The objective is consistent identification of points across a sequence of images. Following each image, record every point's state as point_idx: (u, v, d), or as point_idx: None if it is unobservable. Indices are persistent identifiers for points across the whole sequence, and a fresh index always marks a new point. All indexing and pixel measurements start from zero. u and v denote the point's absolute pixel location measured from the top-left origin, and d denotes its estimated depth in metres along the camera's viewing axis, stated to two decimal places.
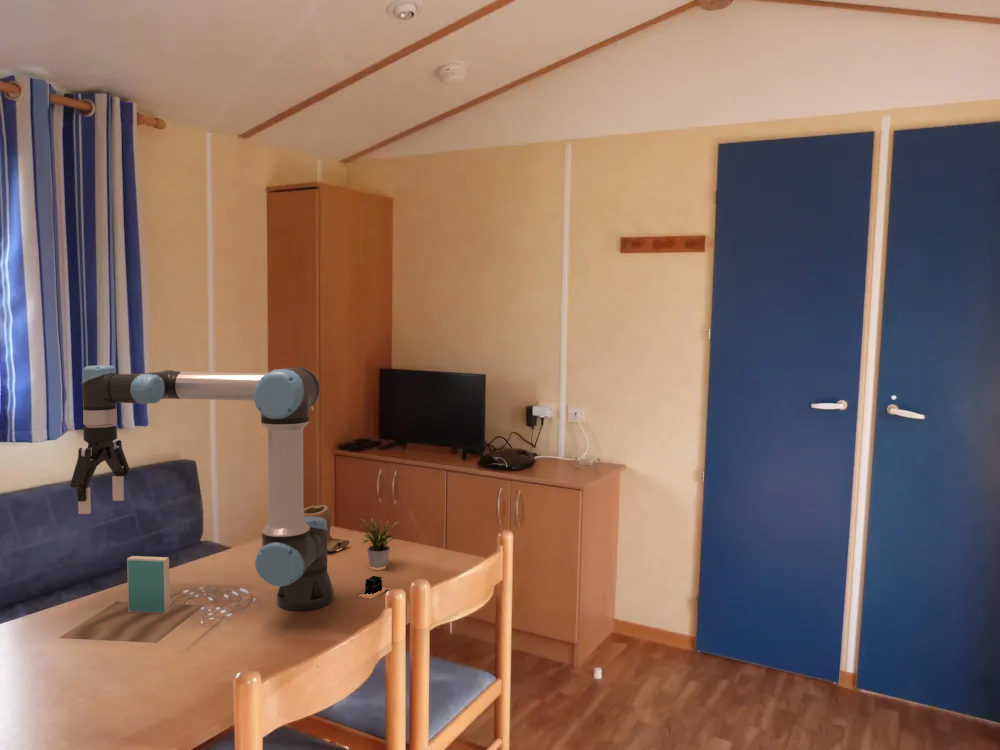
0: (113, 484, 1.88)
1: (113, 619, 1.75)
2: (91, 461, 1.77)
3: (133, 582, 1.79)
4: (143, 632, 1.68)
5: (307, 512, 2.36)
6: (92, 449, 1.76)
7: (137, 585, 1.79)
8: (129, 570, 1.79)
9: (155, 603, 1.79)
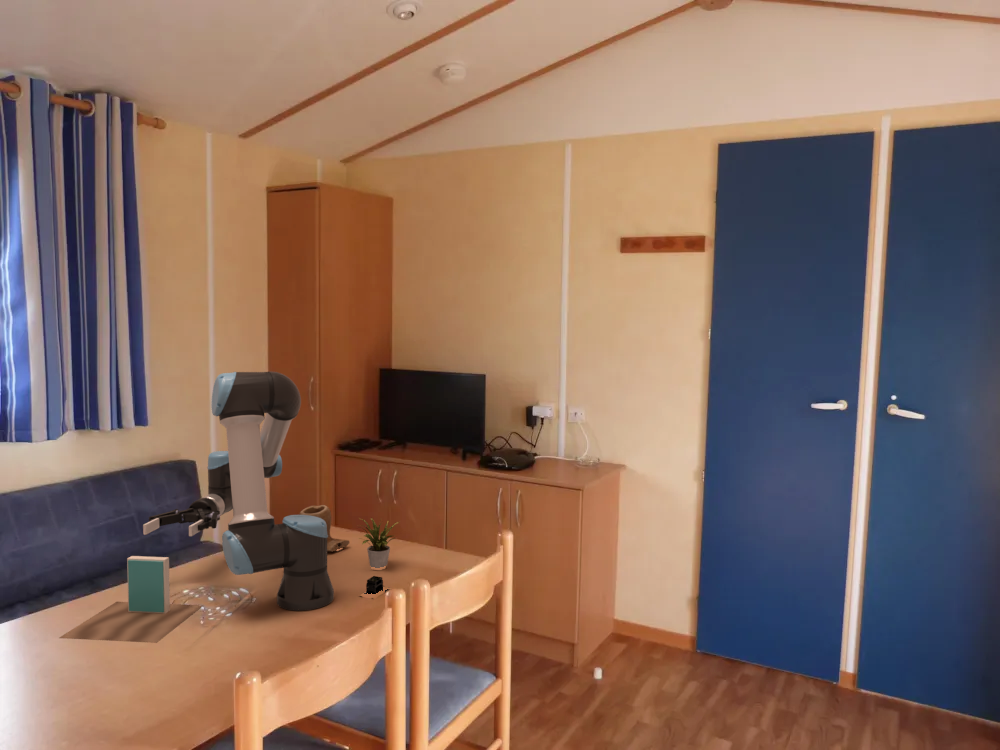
0: None
1: (113, 619, 1.75)
2: None
3: (133, 582, 1.79)
4: (143, 632, 1.68)
5: (307, 512, 2.36)
6: None
7: (137, 585, 1.79)
8: (129, 570, 1.79)
9: (155, 603, 1.79)
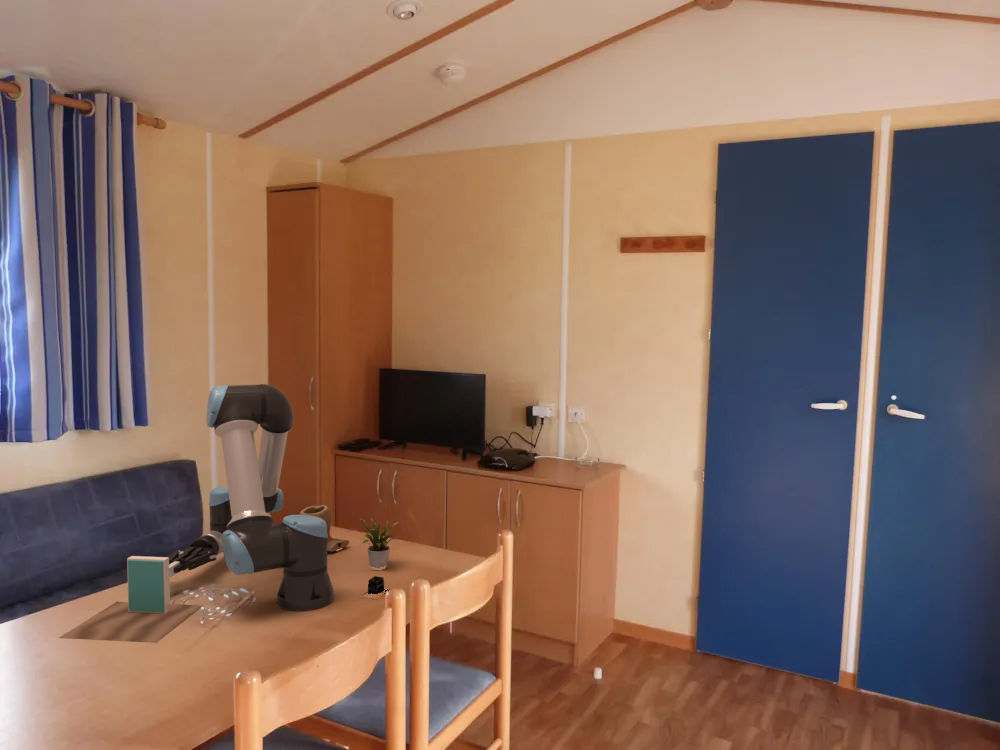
0: None
1: (113, 619, 1.75)
2: None
3: (133, 582, 1.79)
4: (143, 632, 1.68)
5: (307, 512, 2.36)
6: (183, 551, 2.05)
7: (137, 585, 1.79)
8: (129, 570, 1.79)
9: (155, 603, 1.79)
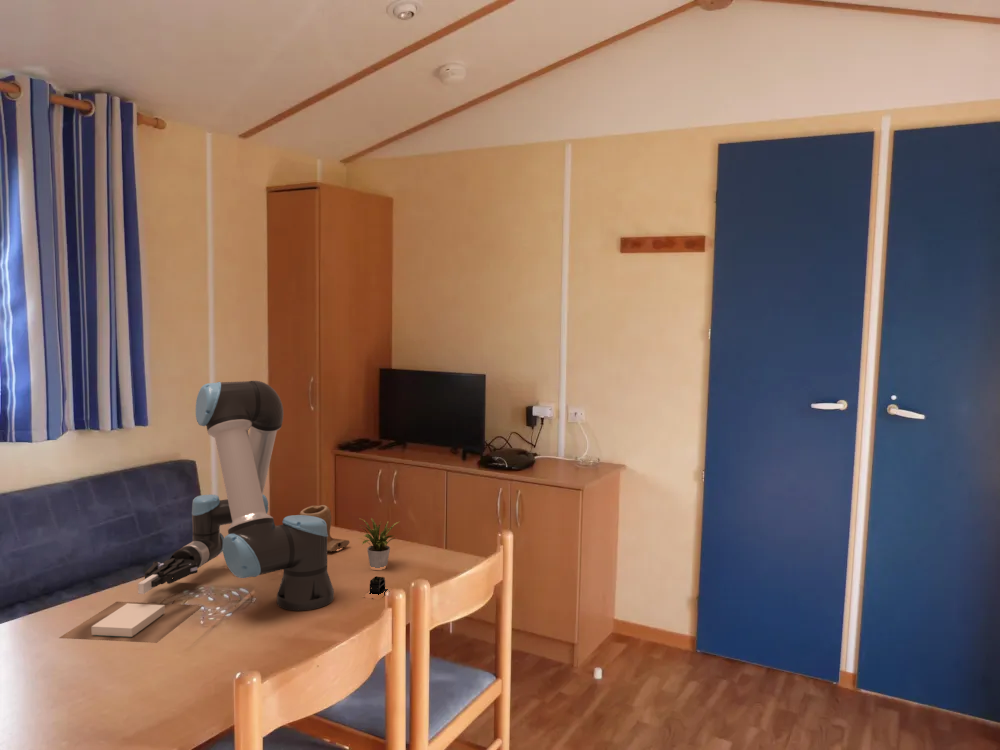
0: None
1: None
2: None
3: None
4: (143, 632, 1.68)
5: (307, 512, 2.36)
6: None
7: None
8: None
9: None
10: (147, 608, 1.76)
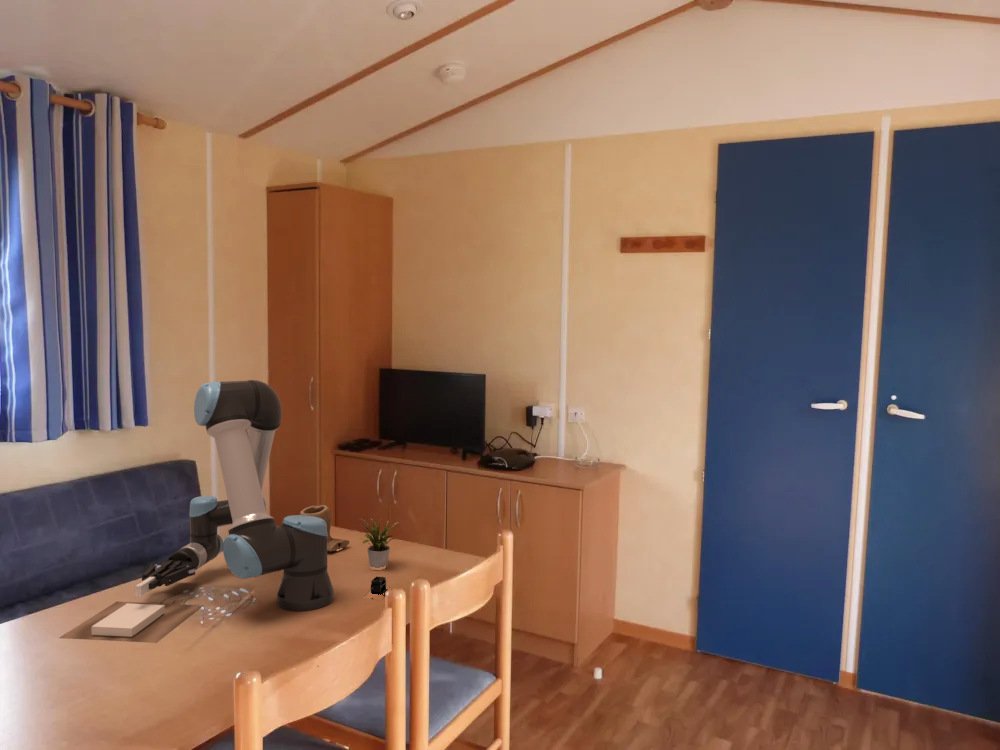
0: None
1: None
2: None
3: None
4: (143, 632, 1.68)
5: (307, 512, 2.36)
6: None
7: None
8: None
9: None
10: (147, 608, 1.76)
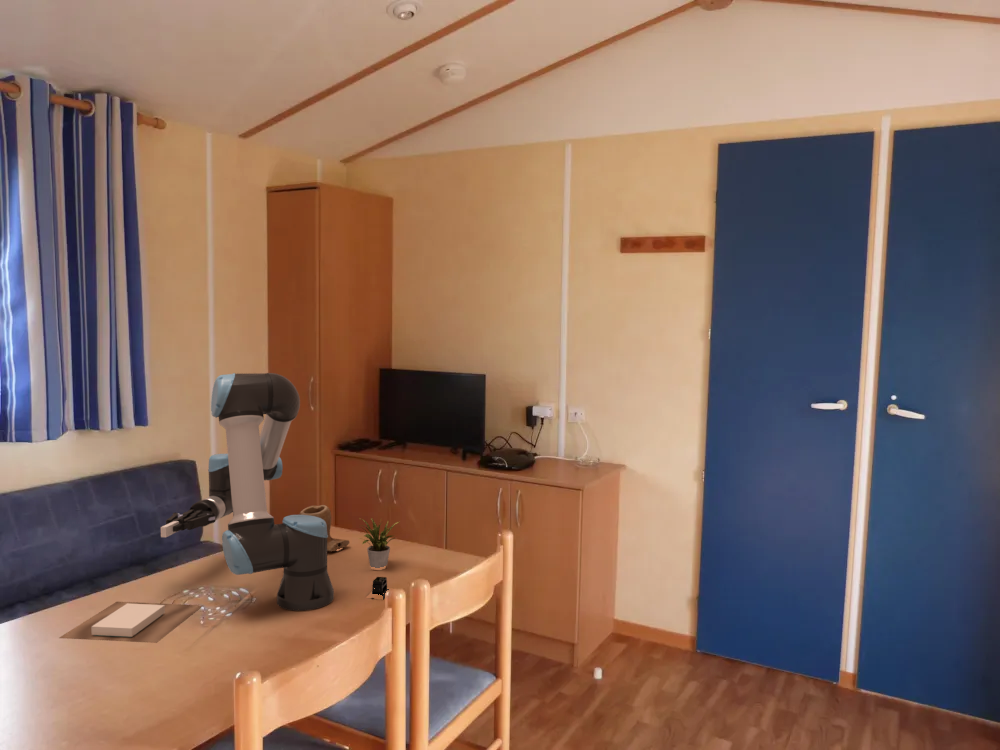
0: None
1: None
2: None
3: None
4: (143, 632, 1.68)
5: (307, 512, 2.36)
6: None
7: None
8: None
9: None
10: (147, 608, 1.76)
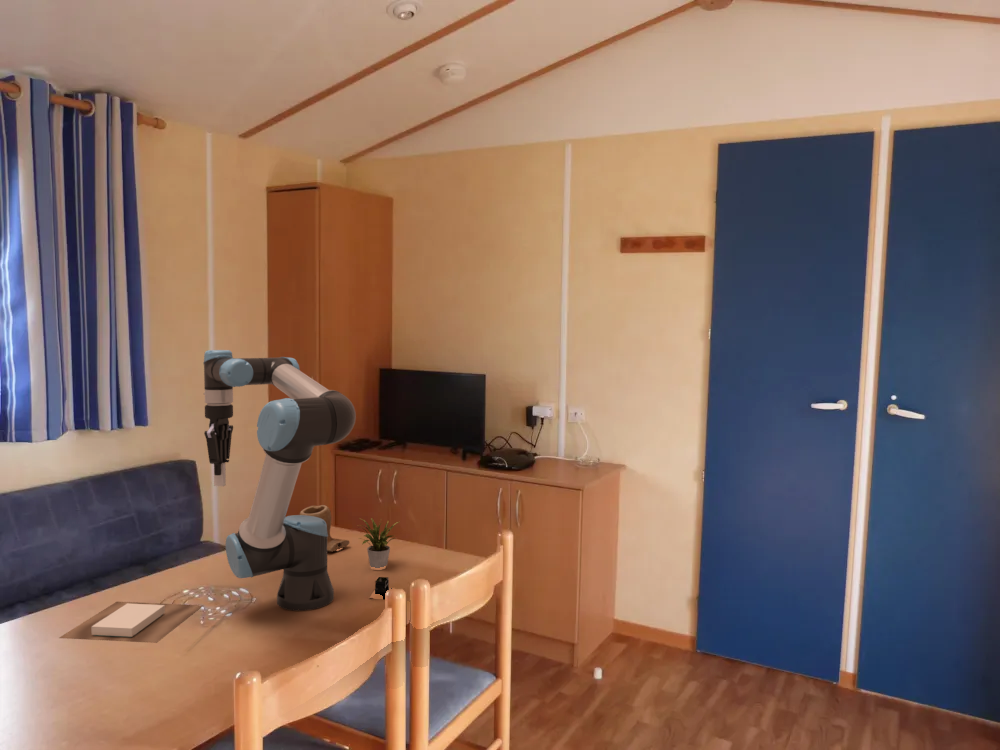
0: None
1: None
2: (216, 439, 1.98)
3: None
4: (143, 632, 1.68)
5: (307, 512, 2.36)
6: (214, 428, 1.96)
7: None
8: None
9: None
10: (147, 608, 1.76)
